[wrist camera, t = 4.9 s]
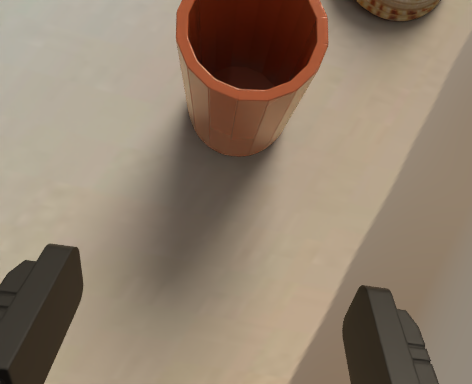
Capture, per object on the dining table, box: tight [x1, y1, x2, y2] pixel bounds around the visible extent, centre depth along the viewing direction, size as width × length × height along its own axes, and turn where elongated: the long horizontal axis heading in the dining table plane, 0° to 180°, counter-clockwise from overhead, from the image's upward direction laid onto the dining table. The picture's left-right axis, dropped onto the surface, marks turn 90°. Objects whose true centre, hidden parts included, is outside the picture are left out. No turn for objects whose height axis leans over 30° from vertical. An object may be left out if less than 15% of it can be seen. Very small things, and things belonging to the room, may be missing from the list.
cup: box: [176, 0, 328, 157], centre depth 22 cm, size 6×6×10 cm
